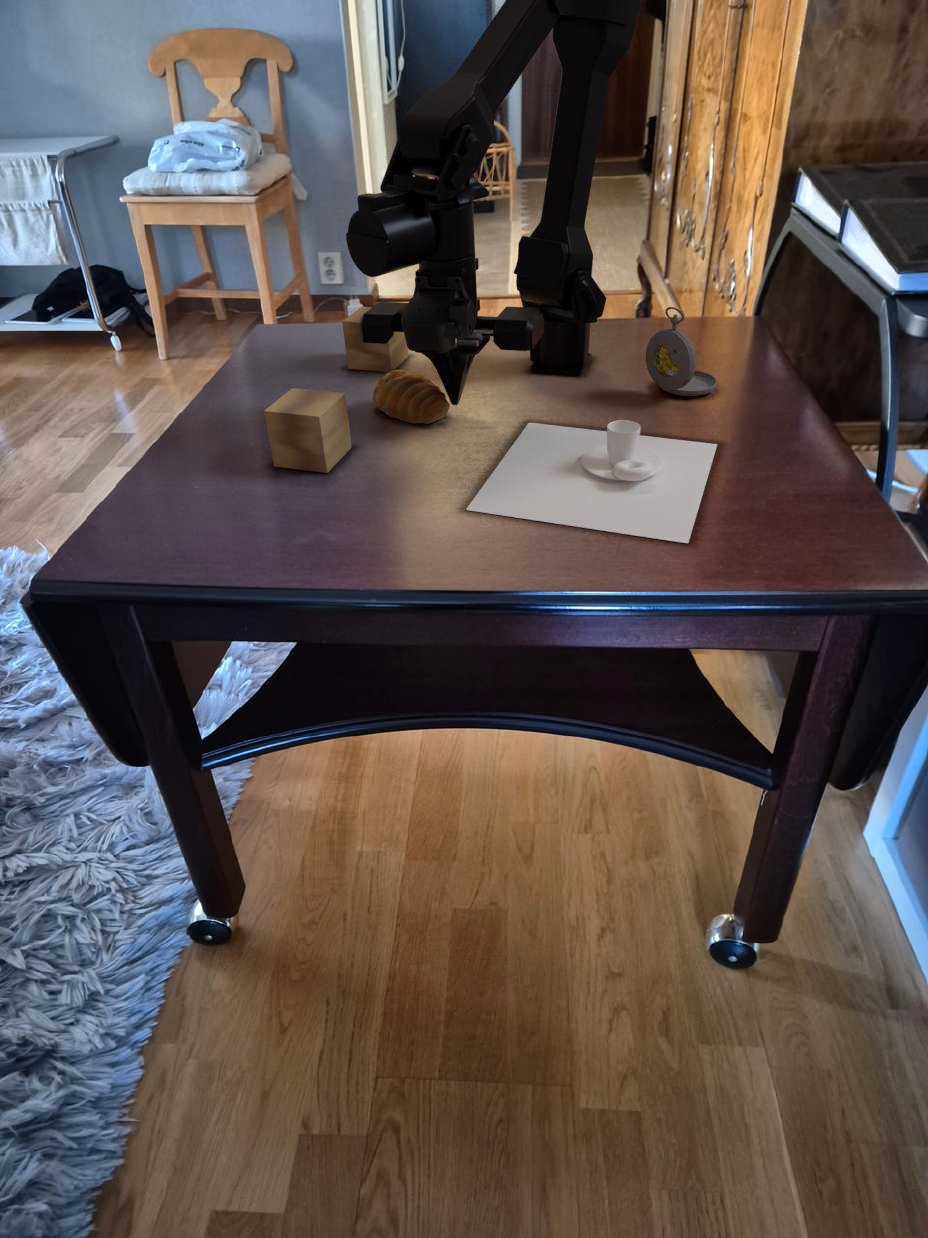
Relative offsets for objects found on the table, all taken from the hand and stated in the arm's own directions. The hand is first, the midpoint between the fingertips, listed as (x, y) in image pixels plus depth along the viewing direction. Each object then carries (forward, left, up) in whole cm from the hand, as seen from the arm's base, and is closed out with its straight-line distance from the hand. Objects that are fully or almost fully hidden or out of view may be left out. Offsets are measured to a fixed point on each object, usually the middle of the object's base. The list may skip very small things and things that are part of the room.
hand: (455, 403), depth 93 cm
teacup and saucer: (-18, +10, -2) cm, 21 cm away
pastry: (+5, 0, -2) cm, 6 cm away
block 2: (+15, -14, -1) cm, 20 cm away
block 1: (+11, +13, -1) cm, 17 cm away
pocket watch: (-23, -13, -2) cm, 26 cm away
